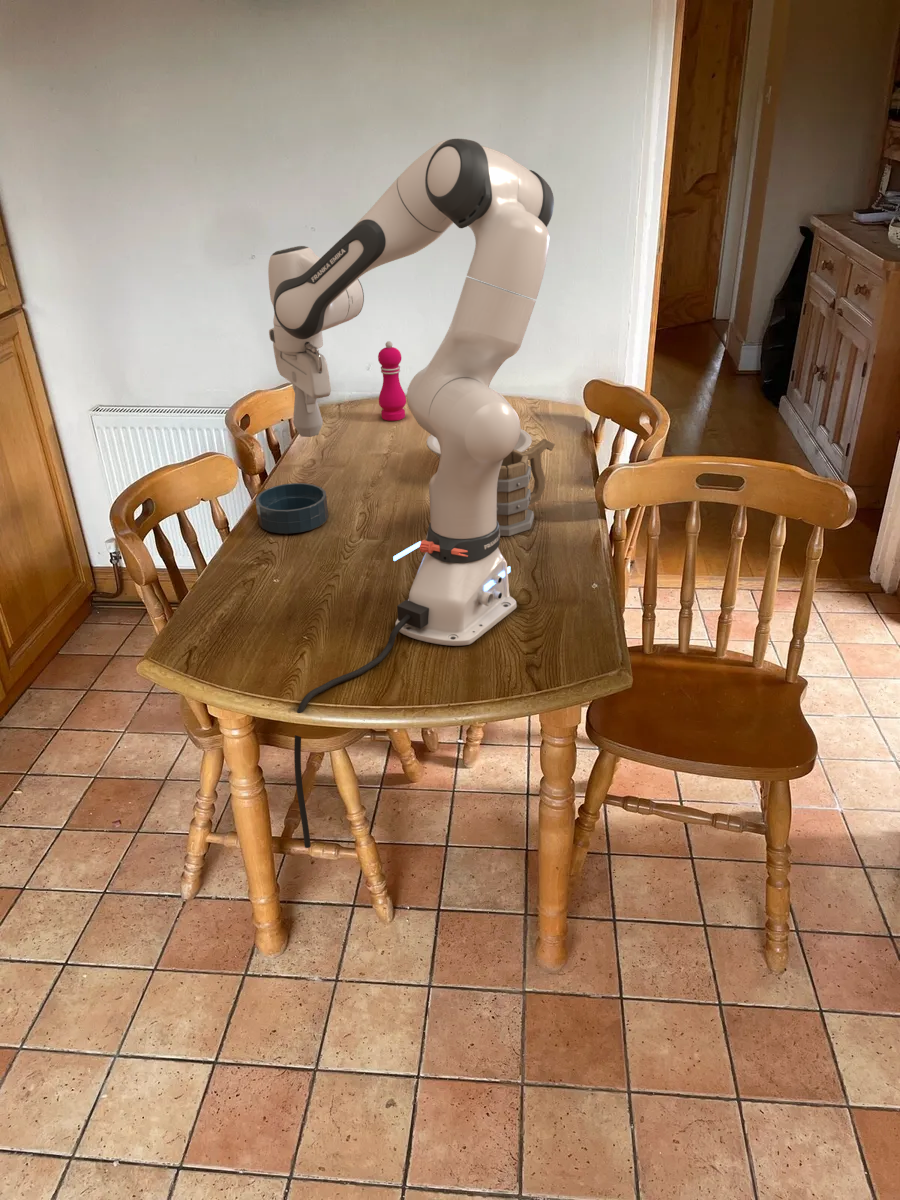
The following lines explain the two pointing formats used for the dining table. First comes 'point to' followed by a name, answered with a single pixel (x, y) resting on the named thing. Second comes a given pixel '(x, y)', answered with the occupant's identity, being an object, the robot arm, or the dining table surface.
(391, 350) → the pepper mill
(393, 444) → the dining table surface
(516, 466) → the tankard
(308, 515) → the glazed bowl
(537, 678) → the dining table surface
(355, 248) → the robot arm
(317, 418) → the salt shaker
